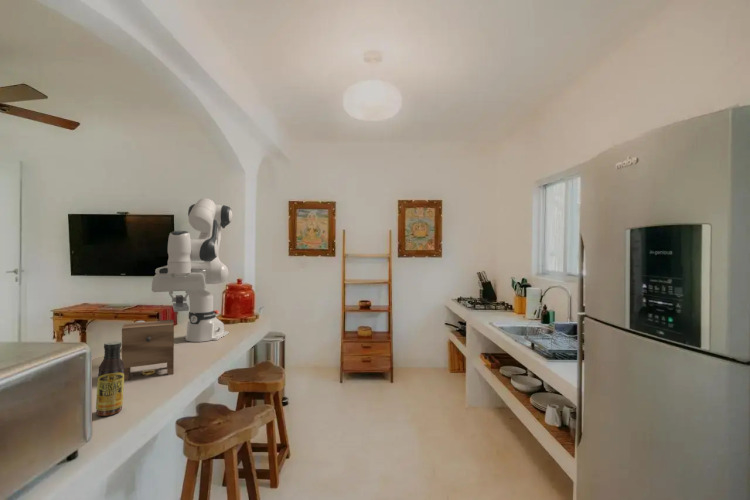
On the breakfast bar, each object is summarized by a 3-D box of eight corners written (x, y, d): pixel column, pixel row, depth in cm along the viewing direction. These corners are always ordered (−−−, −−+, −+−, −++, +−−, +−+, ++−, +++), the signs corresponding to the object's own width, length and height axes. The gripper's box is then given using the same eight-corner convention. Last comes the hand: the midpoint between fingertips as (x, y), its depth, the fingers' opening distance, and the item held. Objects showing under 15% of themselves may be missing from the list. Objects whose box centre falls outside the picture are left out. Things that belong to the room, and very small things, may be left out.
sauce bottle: (95, 419, 102) (96, 347, 101) (96, 411, 107) (96, 342, 106) (124, 413, 105) (125, 343, 105) (123, 405, 110) (124, 339, 110)
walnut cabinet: (124, 372, 139) (124, 323, 139) (172, 366, 147) (173, 319, 147) (121, 382, 129) (121, 329, 129) (173, 374, 137) (173, 324, 137)
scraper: (172, 304, 159) (172, 295, 159) (185, 304, 162) (185, 294, 162) (174, 311, 143) (174, 301, 143) (188, 310, 146) (188, 300, 146)
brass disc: (148, 372, 141) (148, 368, 141) (157, 372, 140) (157, 369, 140) (139, 375, 137) (139, 372, 137) (149, 376, 136) (149, 373, 136)
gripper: (205, 268, 166) (205, 299, 166) (151, 269, 155) (151, 302, 155) (207, 268, 160) (206, 301, 160) (151, 270, 150) (151, 304, 150)
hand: (179, 301), depth 158 cm, fingers closed on scraper, 2 cm apart
